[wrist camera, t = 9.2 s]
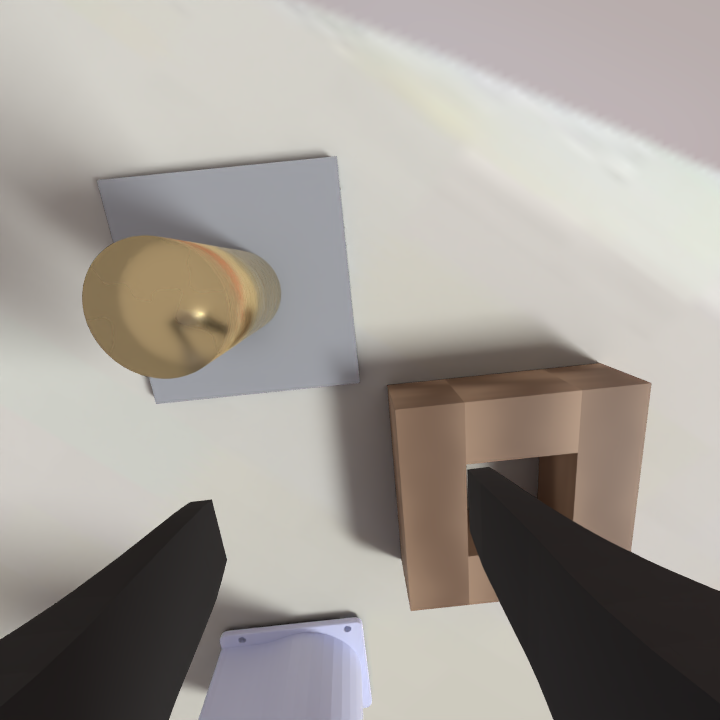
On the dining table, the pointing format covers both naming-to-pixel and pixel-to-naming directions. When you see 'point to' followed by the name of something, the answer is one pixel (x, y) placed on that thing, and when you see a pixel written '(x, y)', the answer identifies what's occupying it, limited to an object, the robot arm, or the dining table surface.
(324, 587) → the dining table surface
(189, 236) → the pad
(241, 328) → the brass cylinder
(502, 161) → the dining table surface
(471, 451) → the block
